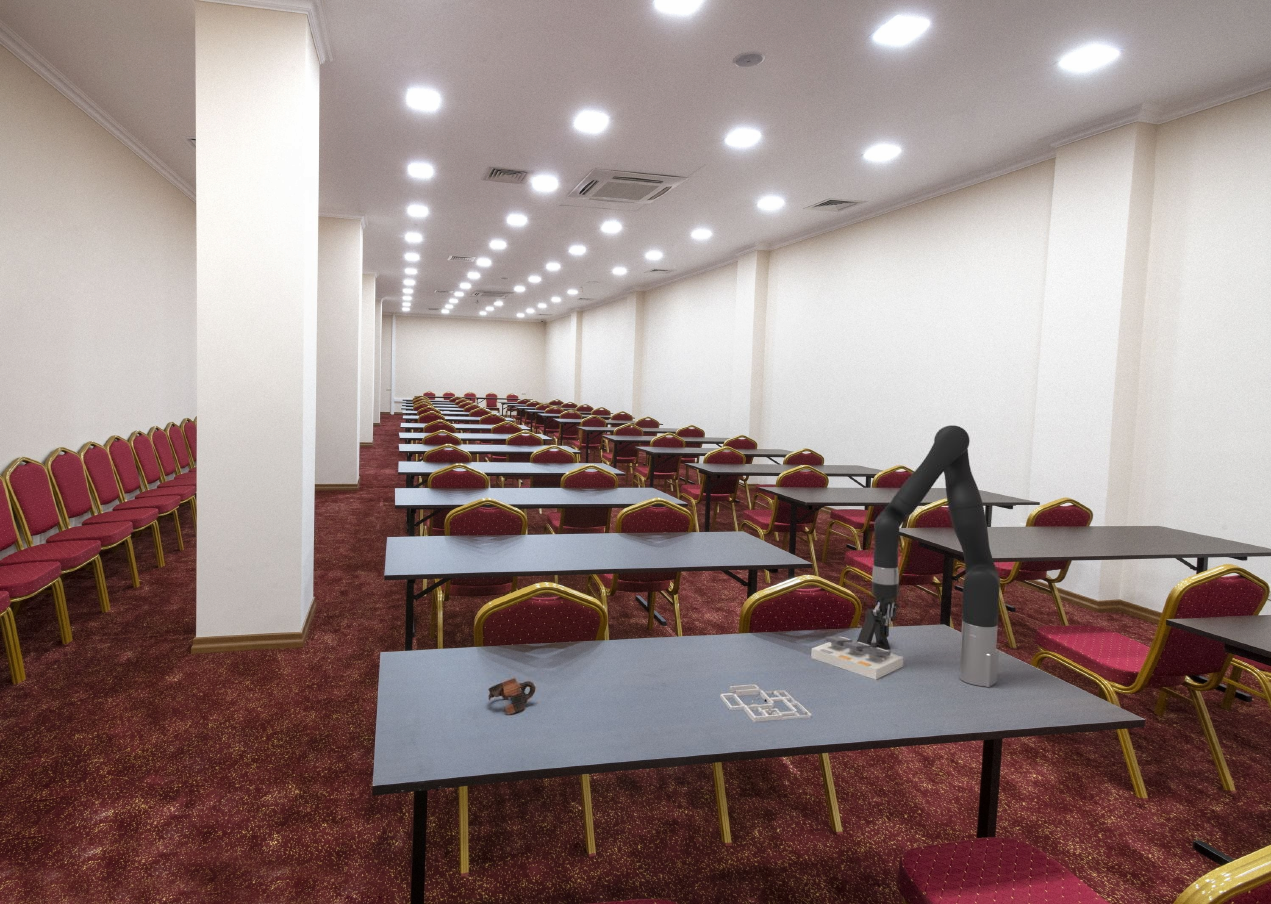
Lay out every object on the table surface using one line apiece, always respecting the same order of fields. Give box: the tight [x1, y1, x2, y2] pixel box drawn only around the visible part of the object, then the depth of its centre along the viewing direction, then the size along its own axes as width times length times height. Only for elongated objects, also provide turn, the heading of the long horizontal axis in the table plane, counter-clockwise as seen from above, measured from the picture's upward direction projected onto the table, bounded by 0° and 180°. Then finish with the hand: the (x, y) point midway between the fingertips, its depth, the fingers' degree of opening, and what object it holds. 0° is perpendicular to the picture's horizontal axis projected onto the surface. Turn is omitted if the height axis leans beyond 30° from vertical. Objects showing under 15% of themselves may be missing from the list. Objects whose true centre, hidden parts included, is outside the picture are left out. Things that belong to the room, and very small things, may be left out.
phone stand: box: [856, 608, 891, 651], centre depth 228 cm, size 9×6×12 cm, turn 97°
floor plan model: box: [719, 684, 813, 723], centre depth 182 cm, size 19×25×2 cm
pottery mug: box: [487, 677, 537, 716], centre depth 179 cm, size 12×10×8 cm
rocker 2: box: [843, 641, 871, 650], centre depth 214 cm, size 4×9×1 cm, turn 132°
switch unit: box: [810, 642, 904, 680], centre depth 214 cm, size 22×16×4 cm
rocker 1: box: [824, 636, 854, 645], centre depth 219 cm, size 4×9×1 cm, turn 132°
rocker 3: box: [862, 648, 892, 657], centre depth 209 cm, size 4×9×1 cm, turn 132°
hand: (884, 636), depth 211 cm, fingers closed
